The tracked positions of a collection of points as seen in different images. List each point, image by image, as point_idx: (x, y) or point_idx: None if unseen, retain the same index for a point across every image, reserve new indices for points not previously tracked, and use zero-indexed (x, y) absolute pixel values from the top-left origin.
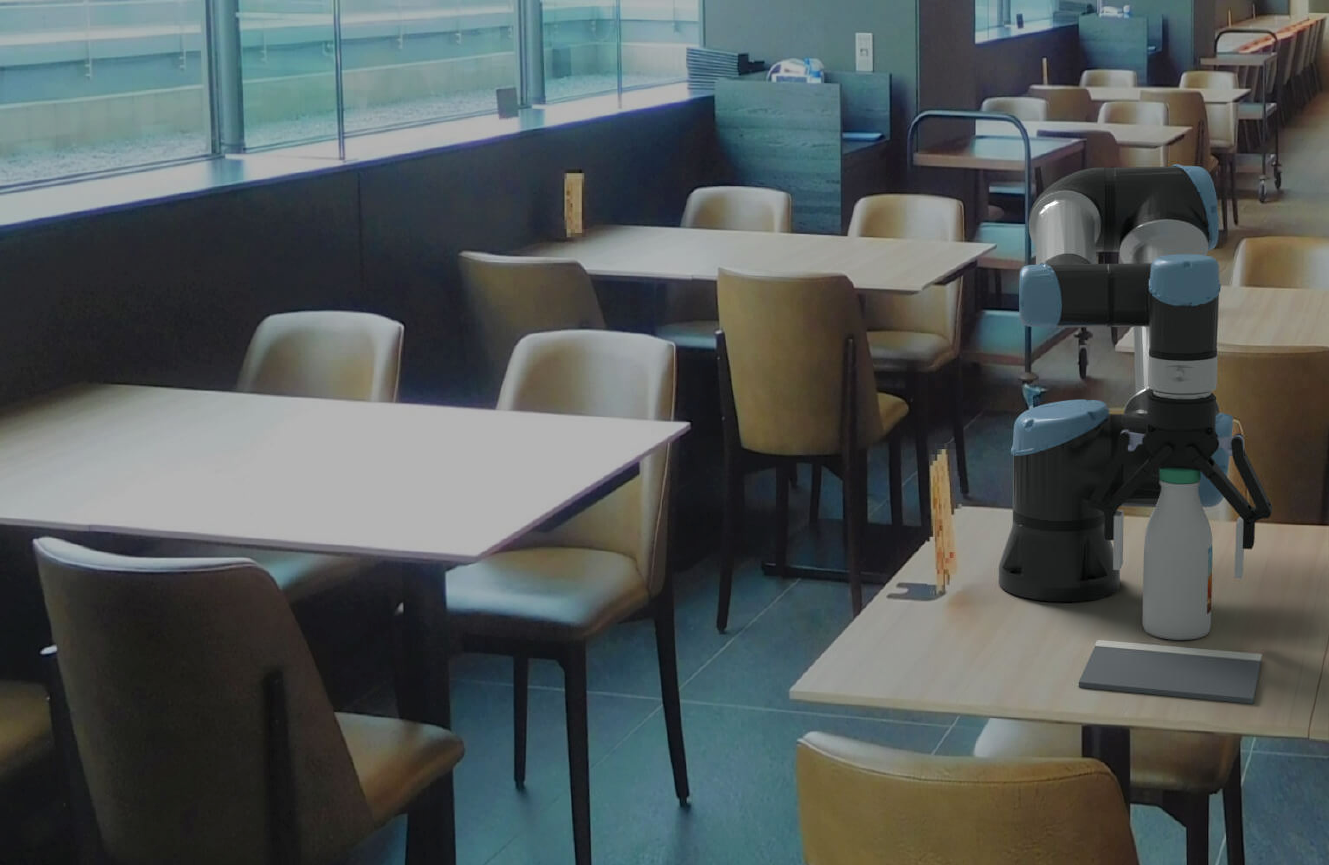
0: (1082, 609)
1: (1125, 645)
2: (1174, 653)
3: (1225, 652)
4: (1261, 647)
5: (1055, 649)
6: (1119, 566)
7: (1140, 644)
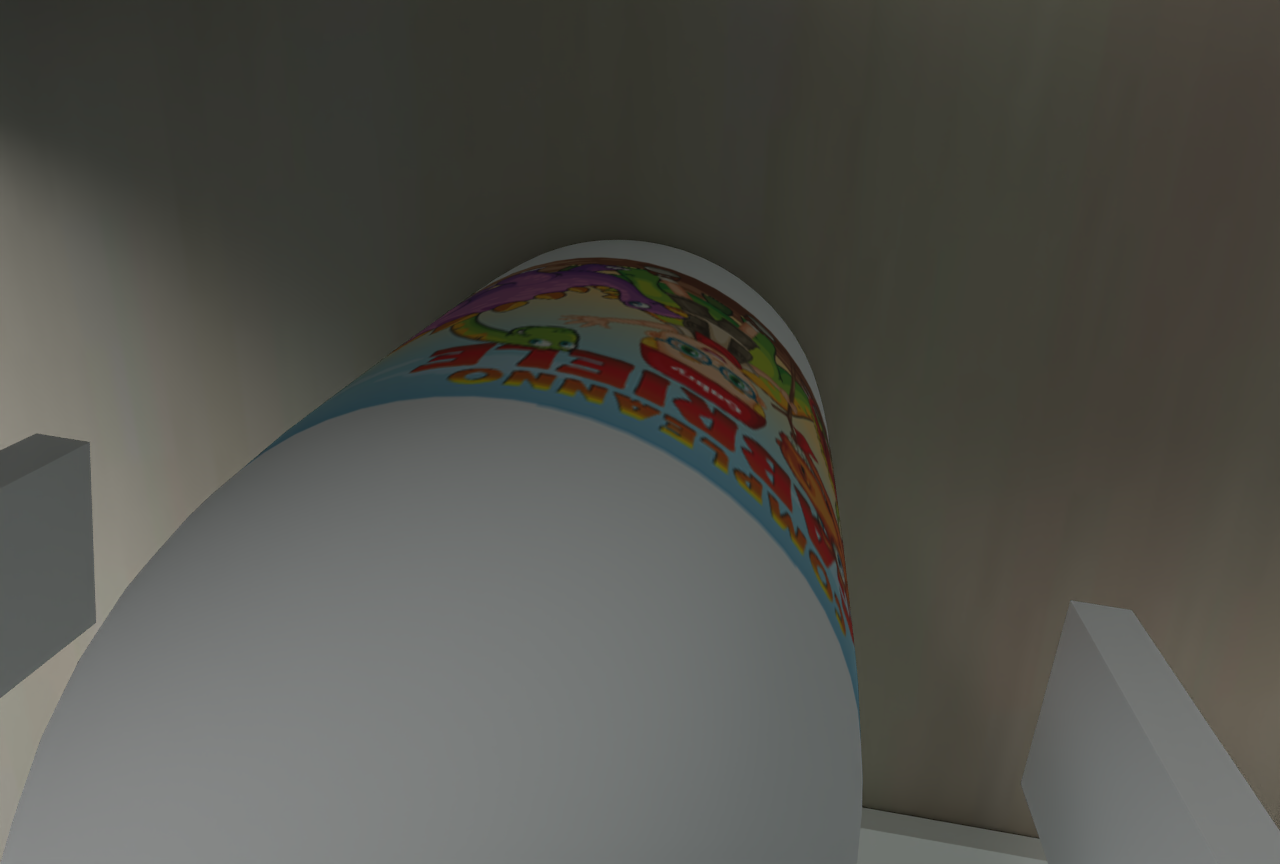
0: (52, 89)
1: None
2: None
3: (868, 849)
4: None
5: None
6: (75, 637)
7: None
